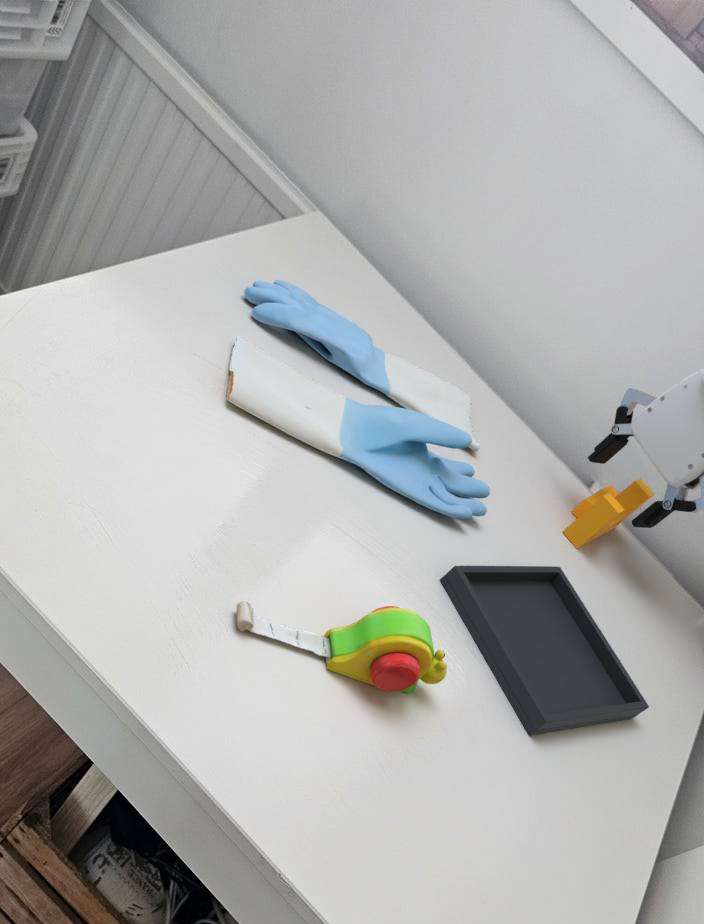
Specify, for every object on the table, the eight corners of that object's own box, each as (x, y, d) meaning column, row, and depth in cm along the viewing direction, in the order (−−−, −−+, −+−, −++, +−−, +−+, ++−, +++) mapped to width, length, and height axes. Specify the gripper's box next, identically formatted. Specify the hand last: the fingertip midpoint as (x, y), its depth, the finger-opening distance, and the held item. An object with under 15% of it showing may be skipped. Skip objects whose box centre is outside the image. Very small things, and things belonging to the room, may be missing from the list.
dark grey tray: (544, 579, 112) (560, 566, 111) (632, 718, 105) (649, 707, 104) (439, 579, 101) (454, 565, 100) (528, 735, 94) (546, 722, 93)
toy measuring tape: (430, 719, 88) (481, 678, 84) (232, 649, 80) (278, 599, 76) (420, 661, 92) (468, 618, 88) (231, 588, 84) (274, 538, 80)
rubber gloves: (241, 265, 118) (271, 219, 114) (467, 400, 128) (502, 361, 124) (222, 404, 99) (257, 355, 95) (487, 548, 110) (530, 509, 106)
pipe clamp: (591, 501, 130) (630, 467, 126) (614, 527, 129) (654, 494, 125) (552, 520, 121) (593, 484, 117) (576, 548, 121) (618, 513, 116)
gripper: (802, 454, 109) (672, 552, 121) (710, 336, 116) (596, 439, 128) (770, 448, 104) (638, 551, 116) (676, 326, 112) (561, 434, 123)
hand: (616, 492), depth 122 cm, fingers open, 9 cm apart
